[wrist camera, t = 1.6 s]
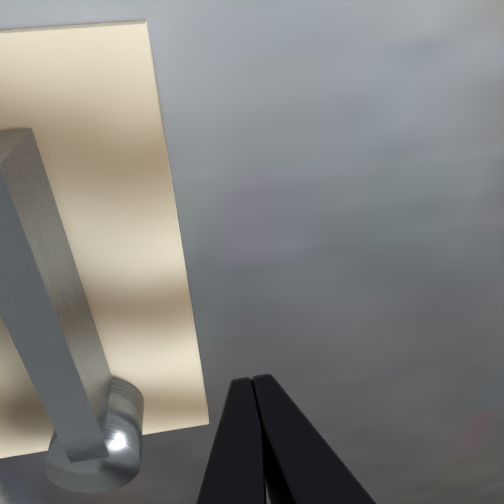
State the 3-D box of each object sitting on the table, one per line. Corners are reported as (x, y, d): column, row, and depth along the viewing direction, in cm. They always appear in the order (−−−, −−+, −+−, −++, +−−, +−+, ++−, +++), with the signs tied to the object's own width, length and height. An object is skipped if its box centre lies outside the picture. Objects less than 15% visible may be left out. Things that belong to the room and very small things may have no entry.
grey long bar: (150, 422, 21) (147, 483, 18) (72, 435, 21) (59, 499, 18) (68, 124, 13) (44, 160, 11) (-60, 136, 13) (-116, 176, 10)
